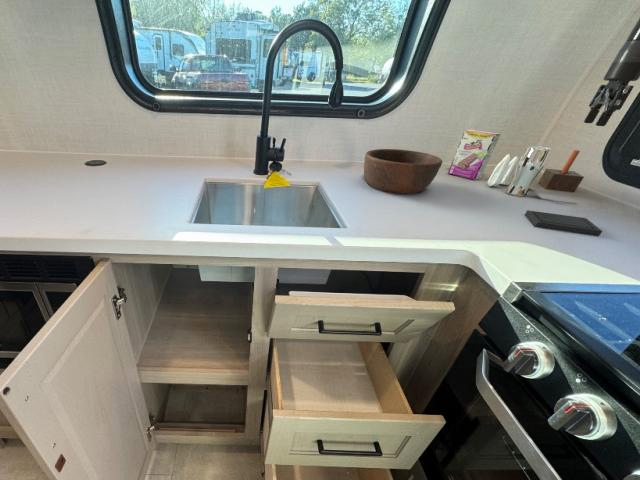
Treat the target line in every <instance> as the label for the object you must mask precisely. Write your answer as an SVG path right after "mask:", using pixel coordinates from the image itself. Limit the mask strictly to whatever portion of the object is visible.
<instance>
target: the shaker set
mask: <svg viewBox="0 0 640 480" xmlns="http://www.w3.org/2000/svg"><path fill="white" fill-rule="evenodd" d="M518 163H519V157H518V156H513V158H512V159H511V154H510V153H508V154H506V155H505V156H504V157H503V158H502V160H501V161H500V162H499V163H497V165H496V166H495V167H494V169H493V171H492V172H491V175H490V177H489V179H488V180H487V185H488V187H492V186H493V187H494V186H497V185H500V184H501V185H503V186H504V185H506V186H509V184H510V182H511V181H512V179H513V177H514V175H515V171H516V168H517V165H518Z"/></svg>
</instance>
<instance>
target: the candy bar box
mask: <svg viewBox="0 0 640 480" xmlns="http://www.w3.org/2000/svg"><path fill="white" fill-rule="evenodd" d="M501 135H502V134H501V133H496V132H490V131H484V130H477V129H466V130H464V131H463V134H462V137H461V139H460V142H459V145H458V147H457V149H456V152H455V154H454V157H453V159H452V161H451V164H450V167H449V168H448V171H447V174H448V175H451V174H452V176H455V175H456V177H459V176H461V177H460V178H463V177H465V178H464V179H468V178H469V179H468V180H472V179H473V180H472V181H477V180H481V178H482V176H483V173H484V172H485V169H486V167H487V166H488V163H489V161H490V159H491V157H492V154H493V152H494V150H495V148H496V145H498V142H499V139H500V137H501ZM476 179H477V180H476Z"/></svg>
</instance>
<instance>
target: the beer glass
mask: <svg viewBox="0 0 640 480" xmlns="http://www.w3.org/2000/svg"><path fill="white" fill-rule="evenodd" d="M553 150H554V149H553V148H552V147H549V146H543V145H542V146H539V145H528V146H527V147H526V149H525V150H524V152H523V153H522V155H521V157H520V159H519V160H518V163H517V168H516V171H515V173H514V175H513V177H512V179H511V181H510V182H511V183H509V185H508V187H507V188H506V189H505V194H507V195H510V196H514V197H526V196H527V195H528V192H529V189H530V187H531V185H532V183H533V182H534V180H535V179H536V178H537V177H538V175H539V174H540V173H541V171H542V170H543V169H544V167H545V166H546V164H547V162H548V160H549V159H550V156H551V153H552V152H553Z"/></svg>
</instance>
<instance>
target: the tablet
mask: <svg viewBox="0 0 640 480" xmlns="http://www.w3.org/2000/svg"><path fill="white" fill-rule="evenodd" d="M534 212H537V213H544V214H552V215H559V216H566V217H574V218H581V219H583V220H584V221H585V222H587V223H588V224H589V225H590V226H591V227H593V228H594V229H591V228H584V227H577V226H570V225H563V224H555V223H548V222H541V221H540V219H539V218H538V217H537V216H536V215H535V214H534ZM524 216H525V217H526V219H527V220H528V221H529V222H530V223H531V224H532V226H533V227H534V228H538V229H539V228H540V229H546V230H552V231H559V232H564V233H565V232H567V233H571V234H572V233H573V234H579V235H587V236H593V237H600V235H601V234H602V233H603V230H602V229H601V228H599V227H598V226H597V225H596V224H594V223H593V222H592V221H590V220H589V219H588V217H582V216H574V215H566V214H558V213H552V212H544V211H543V212H542V211H538V210H537V211H536V210H529V209H527V210H526V211H525V213H524Z"/></svg>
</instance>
